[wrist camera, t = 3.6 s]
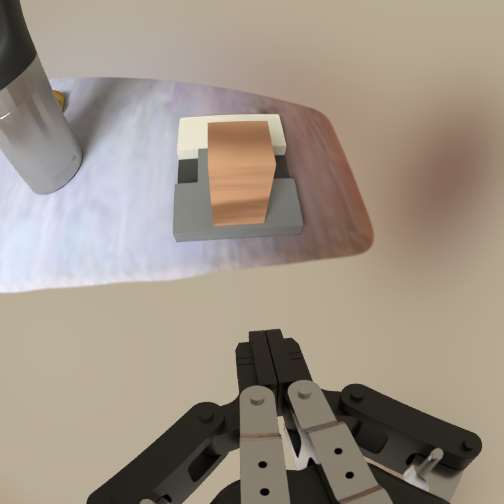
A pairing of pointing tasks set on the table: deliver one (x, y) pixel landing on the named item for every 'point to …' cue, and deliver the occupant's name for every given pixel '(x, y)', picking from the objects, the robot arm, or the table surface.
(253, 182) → the block
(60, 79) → the table surface
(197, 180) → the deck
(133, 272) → the table surface
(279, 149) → the pad
